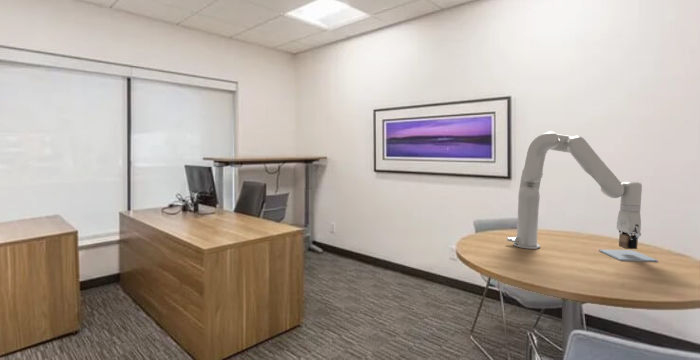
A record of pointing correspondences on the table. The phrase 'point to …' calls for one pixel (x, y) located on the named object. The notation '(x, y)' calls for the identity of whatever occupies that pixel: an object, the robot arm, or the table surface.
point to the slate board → (628, 255)
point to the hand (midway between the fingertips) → (627, 246)
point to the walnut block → (625, 241)
